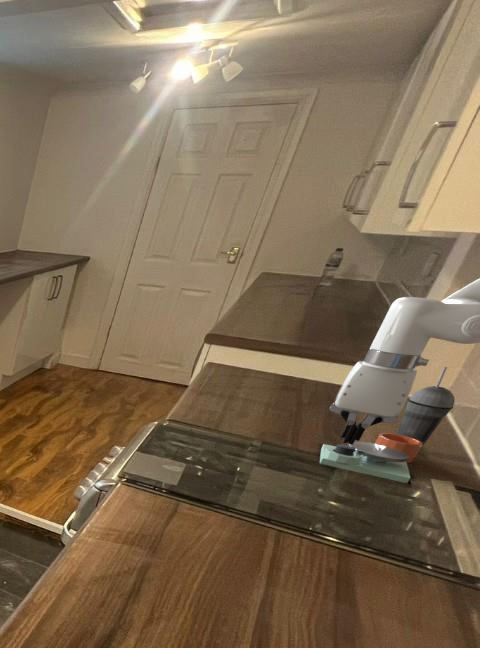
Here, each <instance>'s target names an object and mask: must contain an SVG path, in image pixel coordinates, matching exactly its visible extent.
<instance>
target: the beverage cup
mask: <svg viewBox="0 0 480 648" xmlns="http://www.w3.org/2000/svg"><path fill="white" fill-rule="evenodd" d="M447 369H448V366H444V367H443V369H442V371H441V372H440V375H439V377H438V380H437V382H436V384H435V385H433V386H431V385H430V386H426V387H422V388H420V389H419V390H417V391H415V392H414V393H412V395H411V396H410V397H409V398H407V403H406V406H405V407H406V408H405V412H404V415H403V417H402V419H401V421H400V424H399V427H398V429H397V431H396V434H398V435H403V436H407V437H411V438H414V439H417V440H419V441H421V442H422V443H423V445H422V446H421V448H420V450H421V449H422V448H423V447H424V446H425V444H426V443H427V442H428V440H429V439H430V437H431V436H432V434H433V433H434V432H435V430H436V429H437V428H438V426H439V425H440V423H441V422H442V421H443V420H444V418H445V417H446V416H447V415H448V414H449V413H450V412H451V410H453V409H454V405H455V396H454V394H453V393H452V391H451V390H449V389H447V388H446V387H443V386H440V385H441V382H442V380H443V378H444V376H445V374H446V372H447Z"/></svg>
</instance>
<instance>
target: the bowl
mask: <svg viewBox="0 0 480 648" xmlns="http://www.w3.org/2000/svg"><path fill="white" fill-rule="evenodd" d="M373 444H378V445H383V446H387V447H390V448H394V449H397V450H399V451H402V452H404V453H406V454H407V455H408V456H409V458H408V460H407V461H406V462H407V464H409V463H413V462H414V460H415V459H416V456H418V454H419V452H420V450H421V449H422V448H421V446H422V445H423V443H422V442H421V441H419V440H417V439H414V438H411V437H407V436H403V435H398V434H397V433H390V432H381V433H379V434H378V435H377V437H376V439H375V441H374V442H373ZM420 448H421V449H420Z"/></svg>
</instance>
